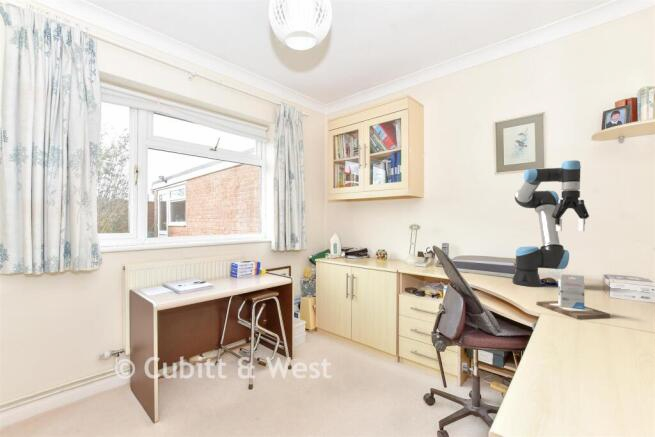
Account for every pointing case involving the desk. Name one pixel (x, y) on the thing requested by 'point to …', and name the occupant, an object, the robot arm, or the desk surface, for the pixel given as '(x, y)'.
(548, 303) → the stand board
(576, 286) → the ink box
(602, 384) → the desk surface
